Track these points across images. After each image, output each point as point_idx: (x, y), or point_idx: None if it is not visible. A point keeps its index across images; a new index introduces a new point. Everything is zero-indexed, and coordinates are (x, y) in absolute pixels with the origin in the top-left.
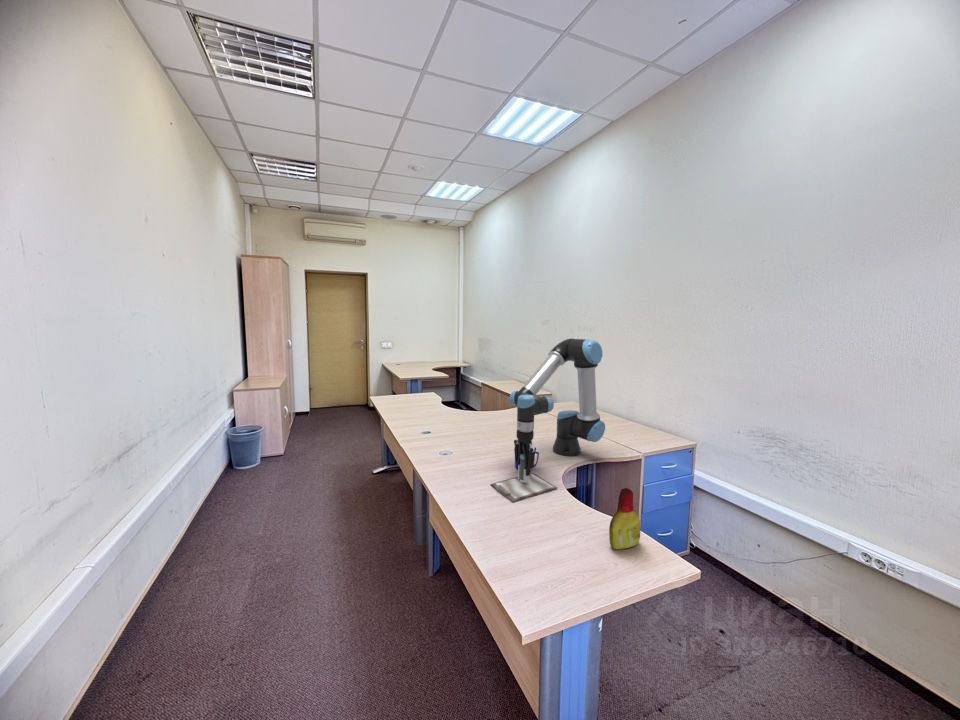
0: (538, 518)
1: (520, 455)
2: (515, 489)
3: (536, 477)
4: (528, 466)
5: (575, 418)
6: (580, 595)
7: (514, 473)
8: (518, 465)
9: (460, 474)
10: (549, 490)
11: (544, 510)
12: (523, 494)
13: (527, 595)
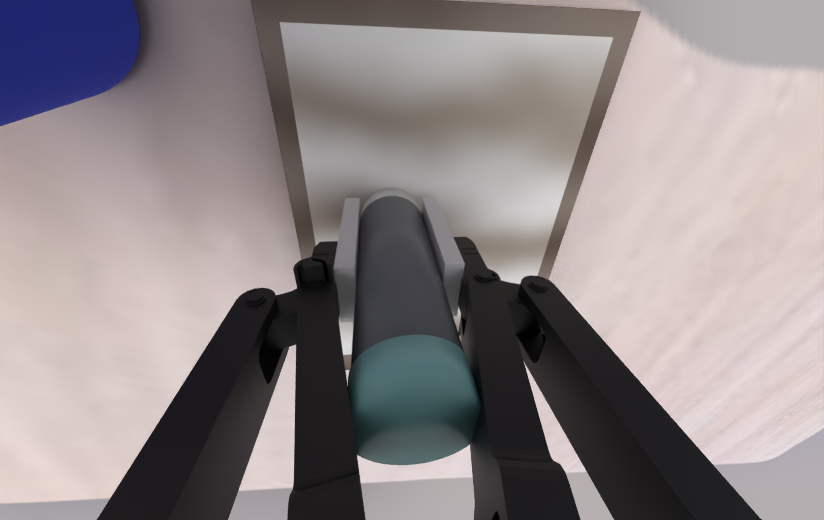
0: (667, 326)
1: (395, 458)
2: None
3: (376, 48)
4: (524, 343)
5: None
6: None
7: (184, 160)
8: (343, 317)
9: (142, 421)
10: (601, 116)
11: (666, 278)
12: None
13: (749, 444)
